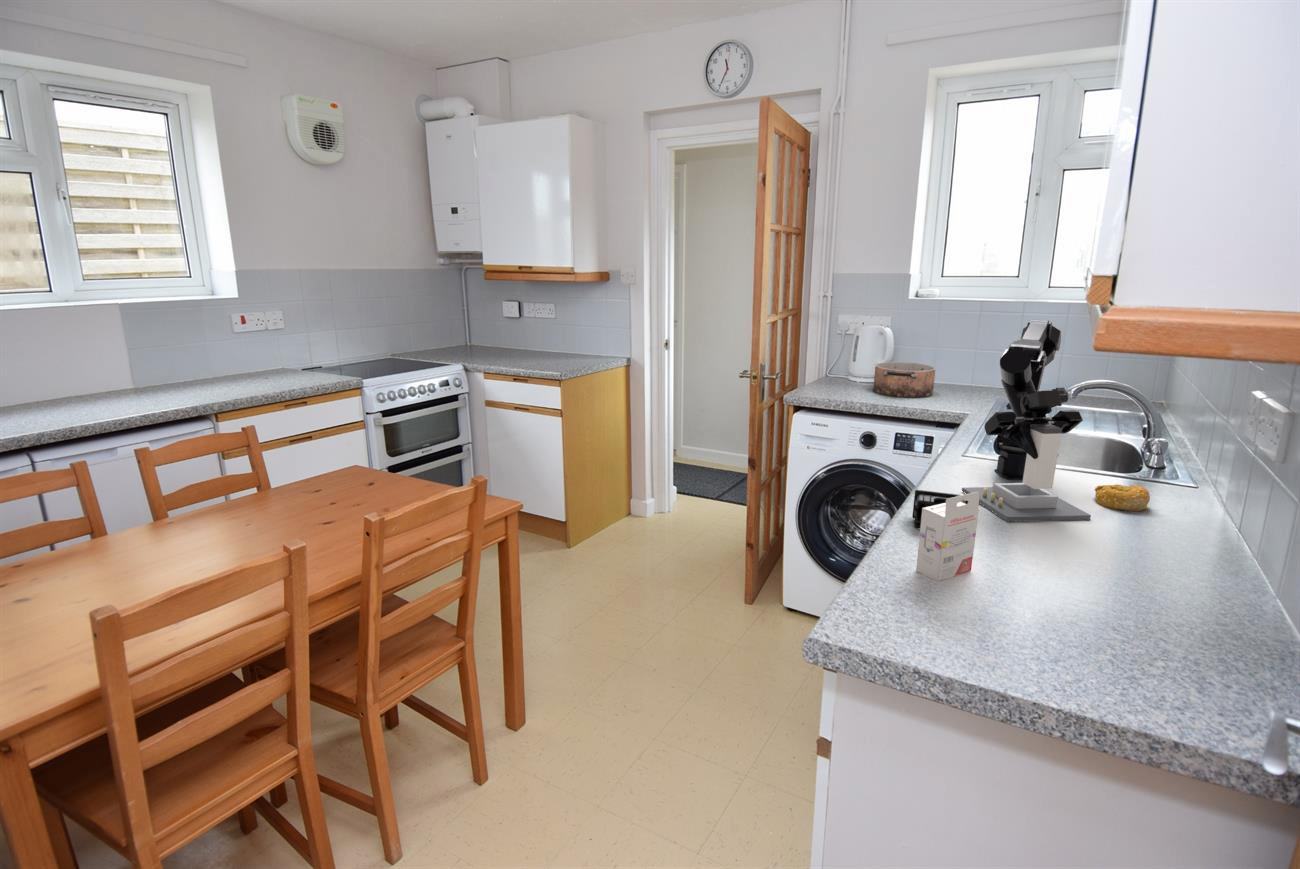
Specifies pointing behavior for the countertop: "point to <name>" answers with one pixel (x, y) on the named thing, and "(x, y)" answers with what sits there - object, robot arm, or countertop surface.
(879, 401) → the countertop surface
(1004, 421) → the robot arm
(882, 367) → the cooking pot
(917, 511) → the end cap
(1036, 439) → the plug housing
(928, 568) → the ink cartridge box
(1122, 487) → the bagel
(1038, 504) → the header dock
